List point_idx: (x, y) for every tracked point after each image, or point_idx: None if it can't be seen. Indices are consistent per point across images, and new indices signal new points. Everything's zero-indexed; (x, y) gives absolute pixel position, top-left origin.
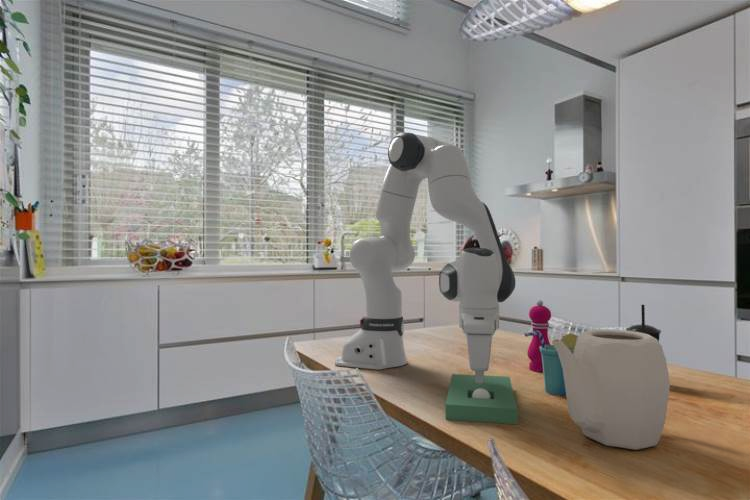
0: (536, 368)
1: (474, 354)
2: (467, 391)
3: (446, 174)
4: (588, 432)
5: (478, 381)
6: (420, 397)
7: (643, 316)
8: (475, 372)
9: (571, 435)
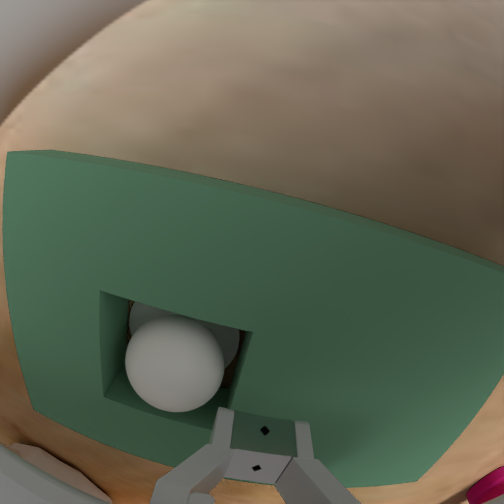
0: (484, 483)
1: None
2: (220, 322)
3: None
4: (23, 449)
5: (214, 421)
6: (376, 56)
7: None
8: (189, 459)
9: (42, 435)
